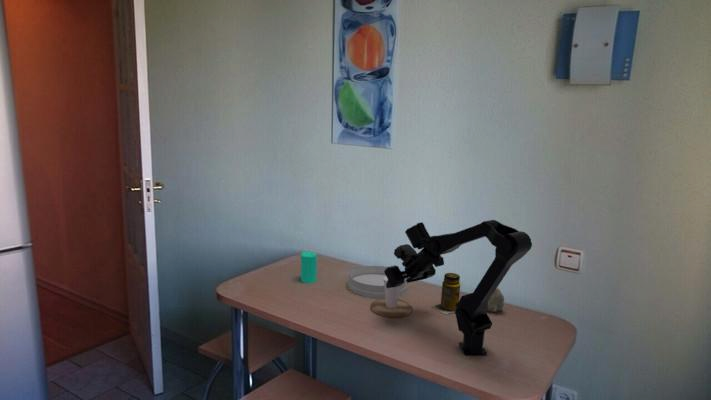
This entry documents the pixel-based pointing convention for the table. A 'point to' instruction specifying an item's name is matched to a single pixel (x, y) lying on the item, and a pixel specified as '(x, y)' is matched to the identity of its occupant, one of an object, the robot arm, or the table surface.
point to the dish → (370, 281)
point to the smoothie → (391, 295)
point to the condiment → (449, 294)
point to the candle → (308, 267)
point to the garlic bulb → (496, 301)
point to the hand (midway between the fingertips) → (397, 284)
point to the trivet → (399, 311)
